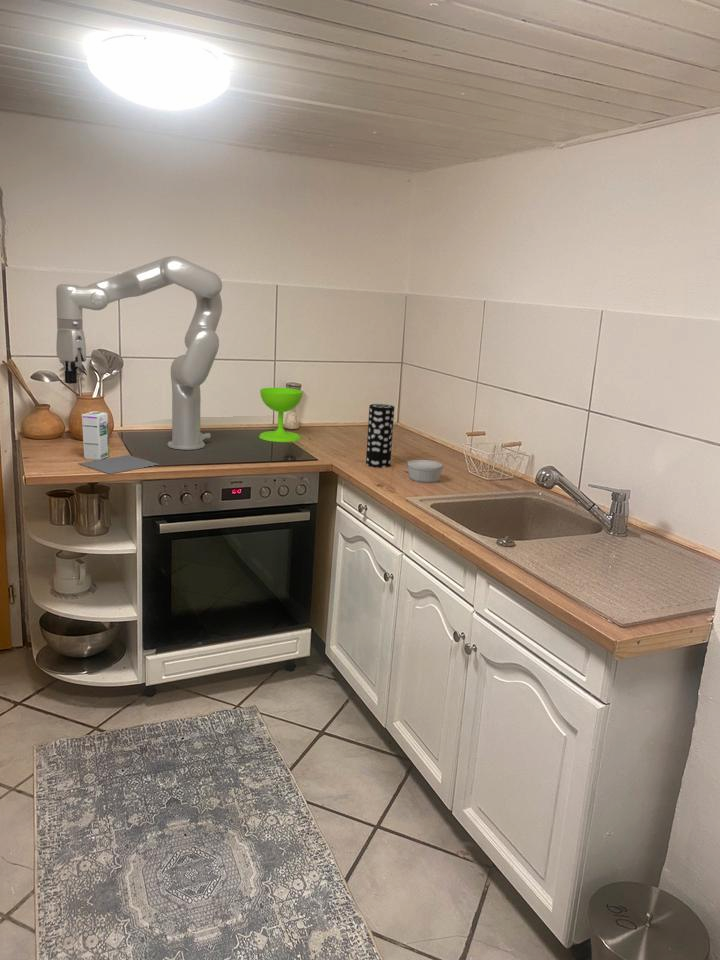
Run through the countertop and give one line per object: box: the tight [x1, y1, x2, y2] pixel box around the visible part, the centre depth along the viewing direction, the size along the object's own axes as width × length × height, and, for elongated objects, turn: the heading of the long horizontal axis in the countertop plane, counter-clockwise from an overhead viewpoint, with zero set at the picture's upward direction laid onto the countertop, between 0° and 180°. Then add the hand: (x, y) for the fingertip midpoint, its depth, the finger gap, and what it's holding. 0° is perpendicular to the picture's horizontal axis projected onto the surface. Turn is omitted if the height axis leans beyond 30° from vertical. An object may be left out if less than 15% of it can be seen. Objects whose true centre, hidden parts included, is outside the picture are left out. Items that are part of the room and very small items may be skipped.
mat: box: [78, 454, 160, 475], centre depth 232 cm, size 18×16×1 cm
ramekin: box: [407, 459, 443, 484], centre depth 236 cm, size 11×11×5 cm
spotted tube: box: [365, 403, 395, 469], centre depth 250 cm, size 8×8×20 cm
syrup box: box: [81, 410, 110, 461], centre depth 237 cm, size 6×6×14 cm
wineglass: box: [258, 387, 303, 443], centre depth 284 cm, size 16×16×18 cm
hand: (71, 383), depth 240 cm, fingers closed
